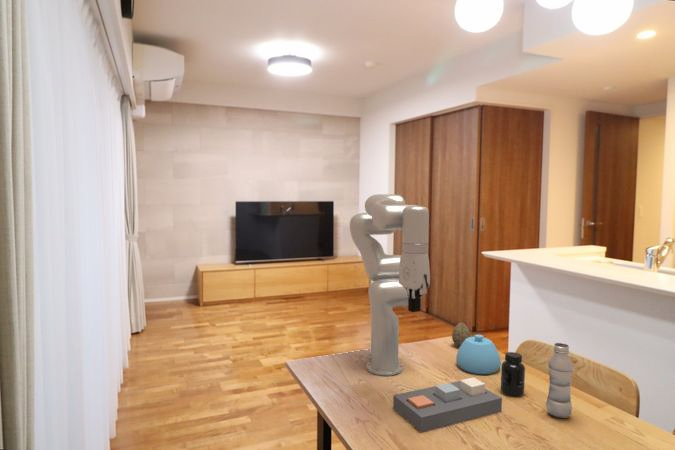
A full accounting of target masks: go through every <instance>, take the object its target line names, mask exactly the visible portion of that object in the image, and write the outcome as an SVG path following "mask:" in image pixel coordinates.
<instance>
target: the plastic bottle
mask: <svg viewBox="0 0 675 450" xmlns="http://www.w3.org/2000/svg"><path fill="white" fill-rule="evenodd" d="M569 349H570V347H569V345H568V344H566V343H563V342H555V343H554V344H553V352H554V353H552V355H551V356H550V357H549V359H548V362H547V366H548V376H549V380H548V382H549V385H548V386H549V387H548V395H547V398H546V402H545V407H546V411H547V412H548V414H549V415H551V416H553V417H555V418H559V419H565V418H566V419H567V418H569V417H570V416H571V415H572V410H573V406H572V405H573V404H572V400H571V399H572V398H571V386H572V376H573V372H574V363H573V361H572V359H571V357H570V356H569V354H570V351H569Z"/></svg>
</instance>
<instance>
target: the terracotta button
mask: <svg viewBox="0 0 675 450" xmlns="http://www.w3.org/2000/svg"><path fill="white" fill-rule="evenodd" d="M408 402H409V403H410V404H411V405H413V406H414V407H415V408H416V409H422V408H426V407H431V406H434V402H432V401H431V400H429V399H428V398H427V397H425V396H424V395H421V396H416V397H412V398H408Z"/></svg>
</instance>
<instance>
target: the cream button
mask: <svg viewBox="0 0 675 450" xmlns="http://www.w3.org/2000/svg"><path fill="white" fill-rule="evenodd" d="M459 381H460V390H461V391H462V392H464V393H466V394H467V395H469V396H470V397H473V396H478V395H482V394H485V389H486V383H484V382H483V381H482V380H479V379H477V378H475V377H469V378H465V379H461V380H459Z"/></svg>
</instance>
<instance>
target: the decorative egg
mask: <svg viewBox="0 0 675 450" xmlns="http://www.w3.org/2000/svg"><path fill="white" fill-rule="evenodd" d="M469 337H472V336H471V331H470V329H469V327H468V326H467V325H466V324H465V323H464V322H462V321H461V322H458V324H456V325H455V326H454V328H453V330H452V333H451V339H452V342H453V343H454V345H456V347H458V348H460V346H461V345H462V343H463V342H464V341H465V339H467V338H469Z"/></svg>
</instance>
